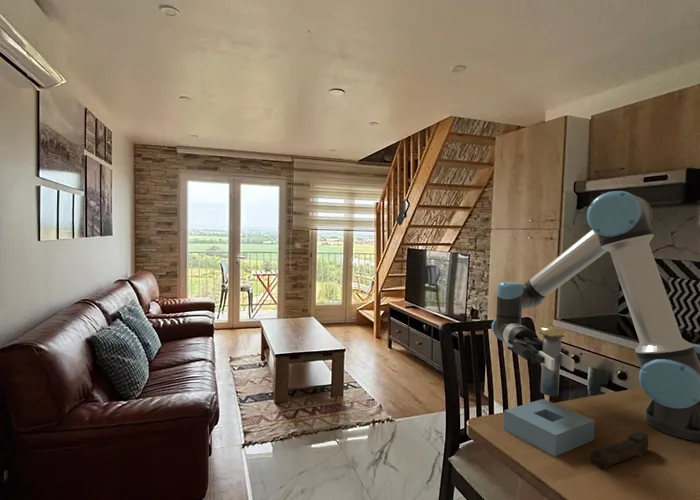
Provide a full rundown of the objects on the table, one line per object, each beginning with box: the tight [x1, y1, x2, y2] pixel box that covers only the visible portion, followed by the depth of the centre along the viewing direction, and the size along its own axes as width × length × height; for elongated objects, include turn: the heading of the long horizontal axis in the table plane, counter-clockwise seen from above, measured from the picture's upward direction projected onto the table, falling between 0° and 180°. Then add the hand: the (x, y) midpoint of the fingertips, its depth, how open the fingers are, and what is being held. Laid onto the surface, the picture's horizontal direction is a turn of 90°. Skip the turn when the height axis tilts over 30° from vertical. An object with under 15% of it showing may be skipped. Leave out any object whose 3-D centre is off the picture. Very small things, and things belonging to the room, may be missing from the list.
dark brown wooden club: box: [588, 432, 649, 471], centre depth 89 cm, size 19×4×5 cm, turn 113°
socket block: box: [503, 398, 596, 457], centre depth 99 cm, size 14×16×5 cm
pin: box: [539, 325, 566, 397], centre depth 99 cm, size 6×6×16 cm
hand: (562, 365), depth 93 cm, fingers closed on pin, 4 cm apart
